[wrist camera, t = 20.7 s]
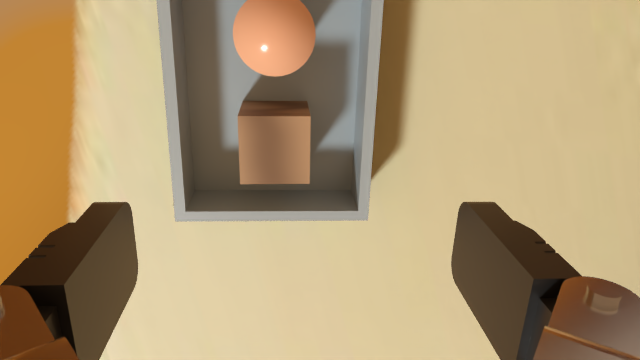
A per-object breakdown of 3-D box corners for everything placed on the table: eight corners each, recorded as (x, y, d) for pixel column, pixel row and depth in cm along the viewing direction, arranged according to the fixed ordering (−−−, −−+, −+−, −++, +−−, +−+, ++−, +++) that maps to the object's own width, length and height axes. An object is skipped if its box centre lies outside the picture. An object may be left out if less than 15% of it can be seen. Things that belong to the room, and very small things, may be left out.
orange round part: (308, -9, 36) (316, -9, 29) (307, 62, 37) (315, 76, 31) (238, -10, 35) (230, -11, 29) (241, 62, 37) (234, 76, 30)
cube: (307, 101, 38) (310, 116, 34) (306, 161, 40) (309, 183, 36) (242, 100, 38) (237, 116, 33) (244, 161, 40) (240, 184, 35)
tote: (374, -55, 35) (388, -61, 31) (358, 195, 43) (367, 220, 38) (168, -63, 34) (150, -71, 30) (187, 195, 41) (175, 221, 37)
